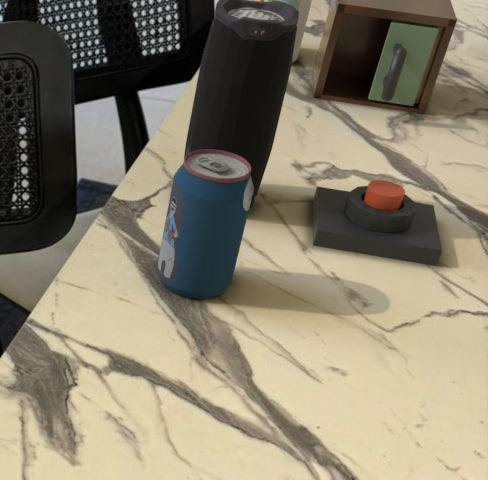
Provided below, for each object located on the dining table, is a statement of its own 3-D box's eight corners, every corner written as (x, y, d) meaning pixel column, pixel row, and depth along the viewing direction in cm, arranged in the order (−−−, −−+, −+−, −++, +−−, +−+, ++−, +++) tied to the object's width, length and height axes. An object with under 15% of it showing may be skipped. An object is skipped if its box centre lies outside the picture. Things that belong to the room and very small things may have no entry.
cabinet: (417, 90, 137) (449, -5, 129) (423, 118, 129) (457, 19, 121) (312, 74, 138) (336, -21, 131) (311, 101, 131) (338, 3, 123)
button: (398, 199, 103) (404, 183, 102) (400, 215, 101) (406, 199, 100) (362, 193, 104) (367, 177, 103) (363, 209, 101) (369, 193, 100)
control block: (426, 224, 108) (439, 188, 105) (434, 270, 100) (449, 233, 98) (311, 205, 109) (321, 169, 106) (311, 249, 102) (322, 213, 99)
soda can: (242, 286, 95) (273, 164, 87) (204, 315, 91) (232, 190, 83) (180, 259, 98) (204, 138, 90) (139, 285, 94) (161, 162, 86)
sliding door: (412, 104, 129) (438, 27, 123) (416, 120, 125) (442, 41, 119) (368, 97, 130) (391, 20, 124) (369, 113, 126) (393, 34, 120)
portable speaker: (253, 187, 111) (300, -3, 98) (258, 228, 104) (309, 30, 91) (175, 177, 112) (211, -13, 99) (174, 217, 105) (213, 18, 92)
